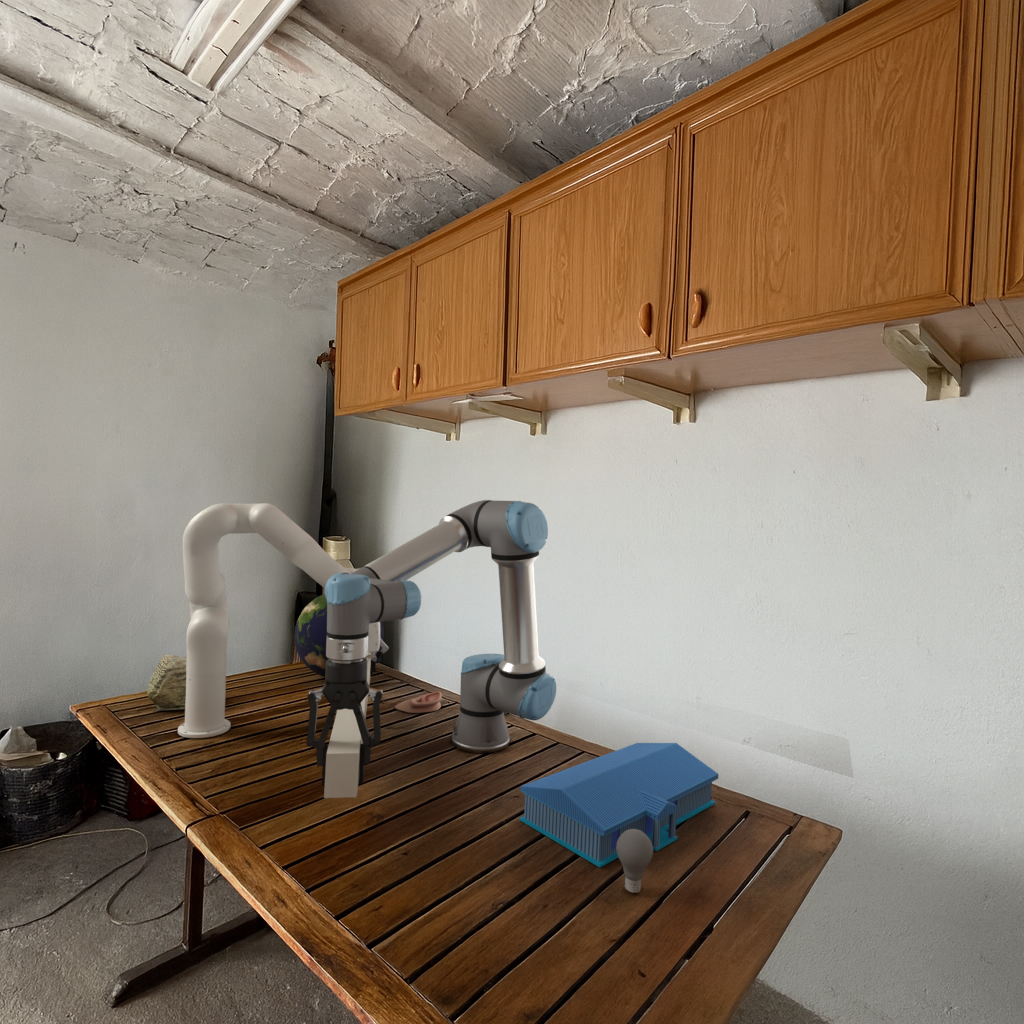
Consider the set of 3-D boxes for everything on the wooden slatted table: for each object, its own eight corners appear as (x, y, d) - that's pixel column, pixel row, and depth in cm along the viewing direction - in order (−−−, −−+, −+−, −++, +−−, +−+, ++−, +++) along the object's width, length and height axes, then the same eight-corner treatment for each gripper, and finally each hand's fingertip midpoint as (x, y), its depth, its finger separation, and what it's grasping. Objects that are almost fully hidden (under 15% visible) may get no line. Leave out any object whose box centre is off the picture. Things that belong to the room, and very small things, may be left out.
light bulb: (610, 879, 108) (613, 822, 108) (644, 879, 109) (647, 822, 109) (619, 902, 102) (622, 840, 102) (655, 901, 103) (658, 840, 103)
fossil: (144, 707, 182) (145, 655, 182) (212, 696, 194) (213, 647, 194) (151, 716, 175) (153, 662, 175) (221, 703, 188) (223, 653, 188)
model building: (614, 876, 110) (616, 818, 109) (518, 819, 128) (520, 770, 127) (729, 809, 136) (731, 762, 136) (635, 769, 154) (637, 729, 154)
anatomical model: (391, 697, 188) (405, 686, 200) (390, 710, 188) (404, 699, 200) (433, 702, 186) (445, 691, 197) (433, 715, 186) (445, 703, 197)
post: (350, 678, 187) (352, 651, 187) (370, 678, 188) (371, 651, 188) (324, 798, 113) (326, 753, 112) (356, 797, 114) (359, 752, 114)
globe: (273, 681, 212) (276, 592, 212) (330, 661, 240) (333, 582, 239) (347, 695, 201) (350, 601, 200) (398, 673, 229) (401, 590, 228)
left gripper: (331, 612, 177) (327, 677, 177) (394, 614, 180) (390, 678, 180) (334, 608, 184) (330, 670, 185) (394, 610, 188) (390, 670, 188)
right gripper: (290, 664, 112) (286, 793, 113) (398, 663, 116) (394, 788, 116) (297, 653, 120) (293, 774, 120) (398, 652, 123) (394, 770, 124)
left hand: (360, 673), depth 182 cm, fingers closed on post, 5 cm apart
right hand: (343, 781), depth 118 cm, fingers closed on post, 6 cm apart
